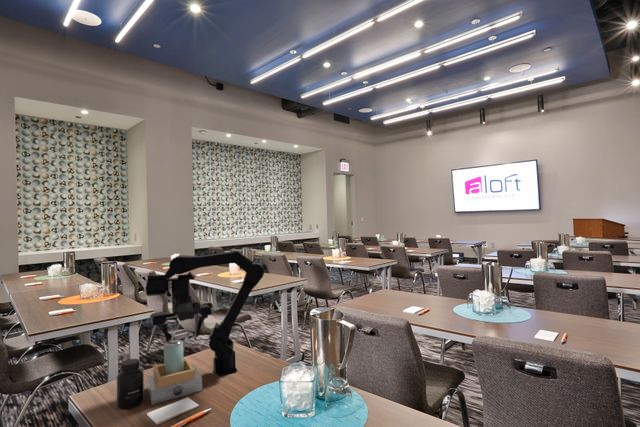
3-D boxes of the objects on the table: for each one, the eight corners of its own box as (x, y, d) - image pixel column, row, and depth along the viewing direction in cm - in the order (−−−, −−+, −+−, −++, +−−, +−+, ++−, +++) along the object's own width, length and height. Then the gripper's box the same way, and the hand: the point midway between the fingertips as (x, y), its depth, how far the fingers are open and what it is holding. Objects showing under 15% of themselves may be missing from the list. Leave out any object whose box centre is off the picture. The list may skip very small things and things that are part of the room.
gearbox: (193, 376, 118) (193, 356, 118) (202, 391, 107) (202, 369, 107) (147, 388, 110) (146, 367, 110) (151, 405, 100) (151, 382, 100)
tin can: (182, 370, 113) (181, 338, 113) (185, 377, 108) (184, 343, 108) (163, 375, 110) (162, 341, 110) (166, 382, 105) (164, 347, 105)
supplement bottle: (132, 411, 97) (131, 367, 97) (111, 409, 98) (110, 366, 98) (149, 398, 104) (148, 357, 104) (129, 397, 105) (128, 356, 105)
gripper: (155, 302, 107) (156, 354, 106) (216, 292, 117) (217, 339, 117) (148, 296, 116) (150, 344, 116) (206, 288, 126) (207, 331, 126)
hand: (182, 339), depth 118 cm, fingers open, 9 cm apart
